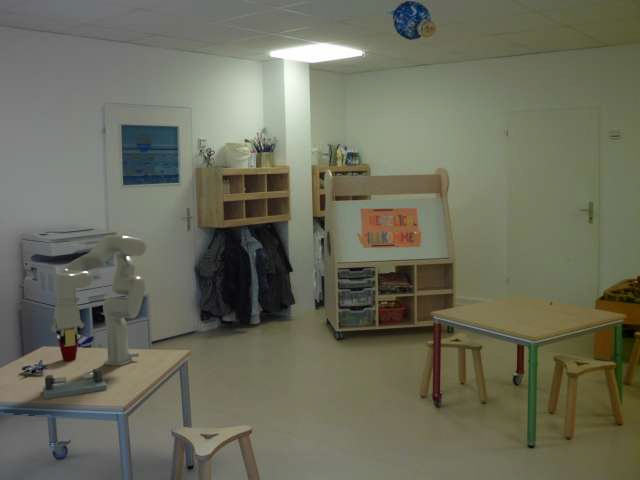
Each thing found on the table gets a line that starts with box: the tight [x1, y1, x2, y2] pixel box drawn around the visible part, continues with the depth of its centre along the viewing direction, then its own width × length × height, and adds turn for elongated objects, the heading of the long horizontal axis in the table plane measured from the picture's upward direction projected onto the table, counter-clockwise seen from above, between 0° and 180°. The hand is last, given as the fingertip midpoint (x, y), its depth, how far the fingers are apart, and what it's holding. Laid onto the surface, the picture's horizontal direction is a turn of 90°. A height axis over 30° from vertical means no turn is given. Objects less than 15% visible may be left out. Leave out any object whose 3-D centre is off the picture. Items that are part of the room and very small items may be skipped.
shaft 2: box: [81, 367, 104, 383], centre depth 291 cm, size 8×4×5 cm, turn 132°
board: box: [42, 378, 108, 400], centre depth 288 cm, size 24×11×2 cm, turn 117°
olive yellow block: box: [64, 328, 75, 347], centre depth 297 cm, size 5×4×7 cm
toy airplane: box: [17, 359, 49, 378], centre depth 312 cm, size 13×14×4 cm
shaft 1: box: [44, 374, 67, 390], centre depth 285 cm, size 8×4×5 cm, turn 102°
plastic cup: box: [56, 334, 81, 362], centre depth 334 cm, size 11×11×12 cm
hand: (68, 343), depth 297 cm, fingers closed on olive yellow block, 4 cm apart
